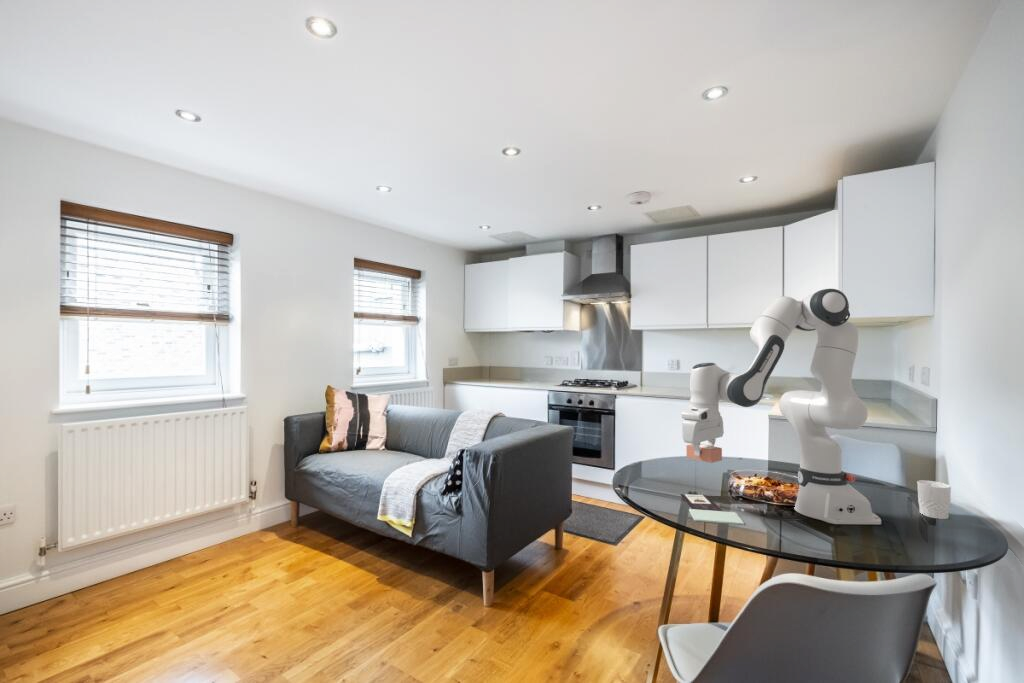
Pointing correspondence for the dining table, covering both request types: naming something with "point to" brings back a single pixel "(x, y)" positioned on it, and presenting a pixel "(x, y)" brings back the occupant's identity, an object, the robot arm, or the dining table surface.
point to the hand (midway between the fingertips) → (703, 453)
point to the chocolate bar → (700, 502)
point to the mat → (716, 516)
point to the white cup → (934, 499)
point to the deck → (705, 453)
